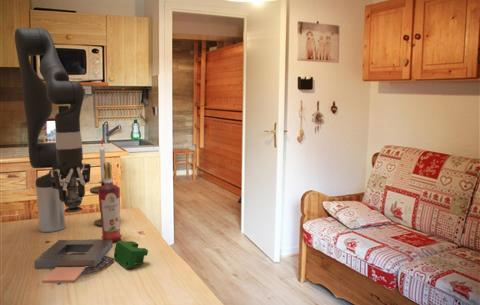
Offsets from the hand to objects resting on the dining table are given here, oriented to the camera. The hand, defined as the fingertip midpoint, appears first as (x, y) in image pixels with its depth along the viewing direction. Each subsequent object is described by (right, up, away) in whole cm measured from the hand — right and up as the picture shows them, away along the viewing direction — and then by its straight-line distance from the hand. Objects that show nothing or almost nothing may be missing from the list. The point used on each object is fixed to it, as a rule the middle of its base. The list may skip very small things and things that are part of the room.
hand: (72, 199), depth 134 cm
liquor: (+7, -17, +17) cm, 25 cm away
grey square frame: (0, -19, +3) cm, 19 cm away
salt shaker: (0, -4, +1) cm, 4 cm away
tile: (+2, -21, -11) cm, 24 cm away
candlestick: (-1, -14, +37) cm, 40 cm away
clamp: (+19, -20, -2) cm, 27 cm away
